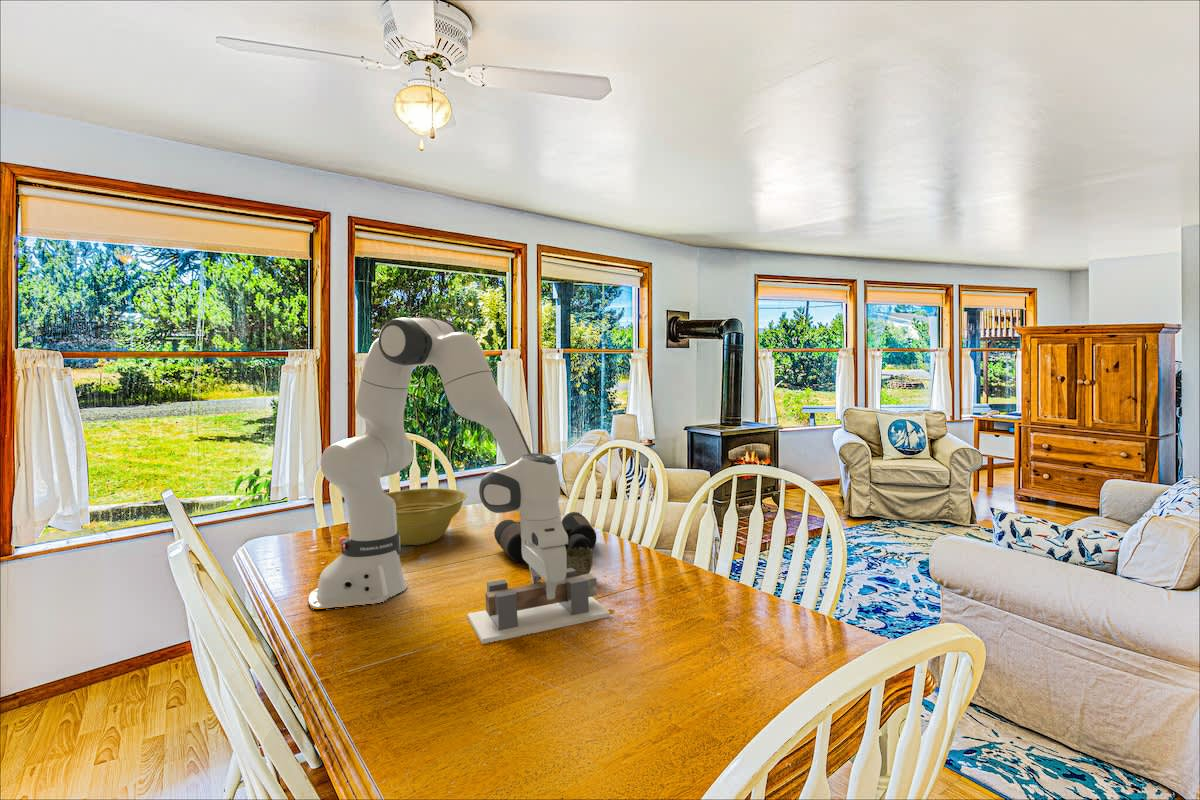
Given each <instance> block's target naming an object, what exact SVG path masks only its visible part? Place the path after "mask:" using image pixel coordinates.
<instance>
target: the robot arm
mask: <svg viewBox="0 0 1200 800" xmlns="http://www.w3.org/2000/svg"><path fill="white" fill-rule="evenodd" d="M363 365H364V366H363V369H362V373H361V378H360V382H359V387H358V391H357V398H356V402H355V410H356V413H357V414H358V415H359V416H360V418H362V419H363V420H364V422H365V432H364V434H363V435H362V436H361V435H360V436H355V437H350V438H344V439H342V440H340V441H337V442H335V443H332V444H330V445H329V446H327V447H326V448H325V449H324V450H323V453H322V454H321V459H320V468H321V472H322V474H323V476H324V478H325V480H327V481H328V482H329V483H331V484H333V485H334V486H336V488H337V489H338V491H339V492H340V494H341V495H342V497H343V499H344V501H345V504H346V509H347V515H348V527H349V529H348V530H349V536H348V537H347V536H341V537H340V538H339V541H338V543H339V545H340V548H341V549H340V550H341V553H340V555H339V556H338V557H336V558H335V559H334V560H333V561H332V562H331V563H330V564H328V565H327V566H326V567H325V568H324V569H322V572H321V573H320V575H319V578H318V583H317V588H315V589H313V590H311V592H310V593H309V595H308V599H307V600H308V601H309V604H310V606H312V607H314V608H331V607H338V606H348V605H350V606H351V605H361V604H362V605H363V604H371V603H380V602H383V603H385V602H386V601H388V600H389V599H390V598H389V597H391V598H393V597H395V596H397V595H396V594H398V593H400V592H401V593H403V592H404V591H406V589H407V587H408V584H407V582H406V579H405V575H404V573H403V569H402V564H401V563H402V562H401V558H400V555H401V545H400V536H399V532H398V531H397V516H396V503H395V501H394V500H393V499H392V498H391V497H390V496H388V495H385V494H386V493H385V492H384V490H383V488H382V484H381V478H385V477H388V476H392V475H395V474H397V473H399V472H401V471H403V470H404V469H405V468H407V467H409V466H410V465H411V463H412V462H413V459H414V455H415V450H414V449H415V448H414V446H413V443H412V441H411V439H410V438H409V437H408V436H407V433H406V432H405V426H404V421H405V420H404V417H405V407H406V402H407V398H408V393H409V389H410V383H411V379H412V378H411V377H412V374H413V371H414V370H415V368H416V367H417V366H419V367H420V366H421V367H424V366H425V367H426V366H430V365H431V366H433V367H434V368H435V369H437V371H438V374H439V376H440V379H441V382H442V385H443V388H444V393H445V395H446V397H447V400H448V403H449V405H450V406H451V408H452V410H453V411H454V413H456V414H457V415H459V416H460V417H461V418H464V419H465V420H468V421H469V420H470V421H472V422H475V423H478V424H480V425H481V426H484V427H485V428H486V429H487V430H489V431H490V432H491V433H492V435H493V437H494V438H495V440H496V442H497V446H498V448H499V449H500V451H501V454H502V457H503V458H504V460H505V462H506V465H505V466H503V467H500V468H497V469H494V470H491V471H489V472H488V473H486V474H485V475H484V476H483V477H482V478H481V481H480V483H479V487H478V494H479V498H480V501H481V503H482V504H483V506H484V507H485V508H486V510H488V511H490V512H491V513H494V514H500V513H501V514H502V513H503V514H505V513H509V512H514V511H516V512H517V511H518V512H519V522H520V527H521V538H522V557H523V559H524V560H525V561H526V562H527V563H526V564H527V565H528V569H529V572H530V576H531V584H536V583H542V580H544V582H546V584H547V586H546V590H545V597H546V598H547V599H548V600H551V599H554V598H555V590H556V586H557V584H558V583H562V582H564V581H565V578H566V567H567V554H566V547H565V544H568V535H567V533H566V531H565V530H564V528H563V525H562V513H561V509H560V503H559V502H560V497H561V484H560V483H561V482H560V474H559V467H558V464H557V462H556V461H555V459H554V458H552V457H551V456H550V455H548V454H544V453H535V452H531V450H530V448H529V446H528V443H527V441H526V438H525V436H524V435H523V432H522V430H521V428H520V426H519V423H518V421H517V418H516V416H515V414H514V413H513V411H512V409H511V408H510V406H509V404H508V403H507V401H506V400H505V399H504V397H503V395H502V394H501V392H500V390H499V387H498V386H497V384H496V381H495V379H494V376H493V373H492V371H491V368H490V365H489V362H488V360H487V358H486V356H485V354H484V351H483V350H482V347H481V346H480V344H479V342H478V341H477V339H476V338H475V336H474V335H472V334H471V333H468V332H465V331H464V332H463V331H461V330H460V328H459V327H457V326H456V324H454V323H452V322H449V321H447V320H444V319H436V318H431V317H423V316H422V317H406V316H405V317H404V316H403V317H398V318H397V317H396V318H392V319H391V320H388V321H387V322H386V323H384V324H383V325H382V327H381V329H380V331H379V334H378V338H377V339H375V340H374V341H373V342H372V344H371V346H370V349H369V351H368V353H367V356H366V359H365V361H364V364H363ZM402 591H403V592H402ZM401 593H400V594H401ZM394 595H395V596H394ZM398 595H399V594H398ZM392 596H393V597H392ZM388 598H389V599H388ZM387 599H388V600H387ZM385 600H386V601H385ZM308 601H307V602H308ZM384 601H385V602H384ZM309 604H308V605H309ZM380 604H381V603H380ZM363 606H364V605H363Z"/></svg>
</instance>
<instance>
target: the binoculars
mask: <svg viewBox="0 0 1200 800" xmlns="http://www.w3.org/2000/svg"><path fill="white" fill-rule="evenodd" d="M561 522H562V525H563V528H564V530H565V531H566V533H567V535H568V544H565V547H566V549H567V550H568V548H569V547H570V548H572V549H574V548H575V547H576V549H577V550H578V548H579V547H581V548H583V547H584V548H585V549H586V550H587V548H589V550H590V549H591V548H592V550H593V549H594V547H595V545H596V542H597V534H596V530H595V529H594V527H593V526H592V525H591V523H590V522H589V520H588V519H587V518H586V517H585V516H584V515H582V513H579V512H578V511H577V512H576V511H571V512H569V513H567V514H566V515H565V516H564V517H563V519H561ZM493 534H494V539H495V541H496V544H498V545H499V546H500V547H501V549H502V550H503V552H504V553H506V555H508V557H509V558H510V559H511V560H512V561H514V562H515V563H518V564H528V563H527V562H526V561H525V560H524V559H523V557H522V538H521V527H520V521H515V520H512V519H505V520H502V521H500V522H499V523H498V524H497V525H496V527H495V529H494V533H493Z"/></svg>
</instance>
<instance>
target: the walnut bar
mask: <svg viewBox="0 0 1200 800" xmlns="http://www.w3.org/2000/svg"><path fill="white" fill-rule="evenodd" d="M582 577H584V578H585V579H587V580H588V597H595V596H598V585H597V584H598V582H597V577H596V576H595V575H593V574H592V573H591V572H589V574H584V575H581V576H575V577H570V578H565V581H564V582H562V583H558V584H557V586H556V590H555V598H554V599H551V600H548V599H547V598H546V597H545V590H546V586H547V584H546V581H543V582H542V581H541V583H536V584H533V583H531V584H526V585H521V586H516V587H515V586H513V587H510V588H508V589H503V590H497V591H492V592H487V591H486V592H485V610H486V612H487V613H488V615H489V616H493V615H495V593H499V592H505V591H510V590H514V591H515V593H516V594H517V611H519V610H524V609H529V608H534V607H539V606H544V605H549V604H554V603H559V602H564V601H567V580H571V579H576V578H582Z"/></svg>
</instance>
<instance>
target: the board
mask: <svg viewBox="0 0 1200 800" xmlns="http://www.w3.org/2000/svg"><path fill="white" fill-rule="evenodd" d="M575 576H576V570H574V569H573V568H568V569H566V578H570V577H575ZM508 587H509V586H508V582H507V581H506V579H500V580H495V581H488V582H486V592H492V591H497V590H503V589H509V588H508ZM610 617H611V612H610V611H609V610H608V609H607V608H606V607H604V606H603V605H602V604H601V603H600V602H599V601H598V600H596V599H595V598H594V596H592V597H588V580H587V579H585V578H584V577H582V578H576V579H571V580H567V601H564V602H559V603H554V604H549V605H544V606H539V607H534V608H529V609H524V610H519V611H517V594H516V593H515V591H514V590H510V591H505V592H499V593H495V615H493V616H489V615H488V613H487V612H486V609H484V610H480V611H479V610H478V611H474V612H470V613H469V612H468V613H467V619H468V621H469V623H470V625H471V627H472V629H473V630H474V632H475V634H476V636H477V637H478V639H479V641H480V643H481V644H482V645H485V644H490V643H493V642H494V641H495V642H499V640H500V641H505V640H508V639H513V638H518V637H522V635H523V636H527V634H528V635H531V633H532V634H536V633H541V632H546V631H549V630H550V631H551V630H554V629H558V628H564V627H569V626H572V625H578V624H583V623H588V622H591V621H596V620H602V619H606V618H610ZM489 642H490V643H489Z"/></svg>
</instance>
